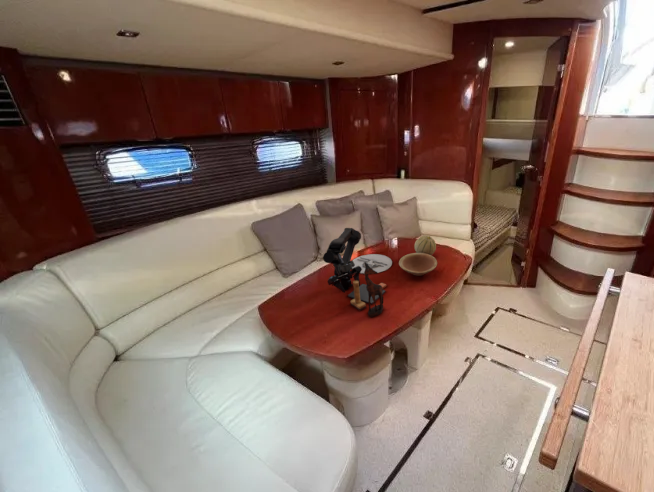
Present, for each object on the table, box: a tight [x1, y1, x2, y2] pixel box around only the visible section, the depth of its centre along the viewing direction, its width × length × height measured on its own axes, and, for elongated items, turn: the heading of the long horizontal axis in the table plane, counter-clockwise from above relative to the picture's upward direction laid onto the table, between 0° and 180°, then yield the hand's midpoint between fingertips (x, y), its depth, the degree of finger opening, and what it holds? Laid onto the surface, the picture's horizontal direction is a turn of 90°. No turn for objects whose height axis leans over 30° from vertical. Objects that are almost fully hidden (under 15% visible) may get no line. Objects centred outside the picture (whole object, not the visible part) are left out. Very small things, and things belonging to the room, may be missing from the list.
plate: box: [351, 253, 393, 275], centre depth 202 cm, size 28×28×1 cm
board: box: [347, 283, 386, 306], centre depth 169 cm, size 16×14×1 cm
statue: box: [363, 262, 384, 318], centre depth 147 cm, size 12×7×30 cm, turn 139°
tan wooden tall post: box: [349, 280, 367, 312], centre depth 156 cm, size 8×4×15 cm, turn 45°
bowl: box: [398, 252, 438, 277], centre depth 189 cm, size 24×24×8 cm
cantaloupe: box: [413, 235, 437, 256], centre depth 207 cm, size 15×15×15 cm
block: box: [377, 282, 388, 289], centre depth 176 cm, size 4×4×1 cm
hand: (352, 289), depth 158 cm, fingers open, 9 cm apart
